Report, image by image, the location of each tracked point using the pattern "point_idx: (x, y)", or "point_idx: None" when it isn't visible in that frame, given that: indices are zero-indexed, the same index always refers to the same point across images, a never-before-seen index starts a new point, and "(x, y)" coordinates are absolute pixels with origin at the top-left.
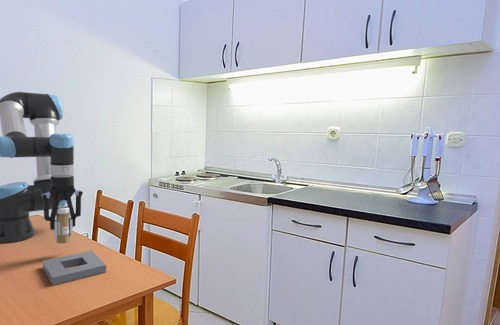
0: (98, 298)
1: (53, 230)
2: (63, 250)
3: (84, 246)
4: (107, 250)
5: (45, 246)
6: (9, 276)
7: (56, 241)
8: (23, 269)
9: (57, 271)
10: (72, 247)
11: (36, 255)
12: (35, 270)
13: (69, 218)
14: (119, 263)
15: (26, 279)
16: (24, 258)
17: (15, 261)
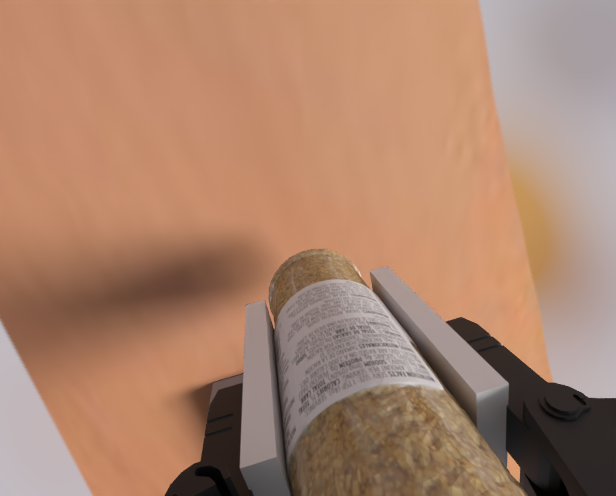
0: None
1: (245, 348)
2: (298, 163)
3: (421, 135)
4: (511, 254)
5: (164, 6)
6: (83, 435)
7: (269, 303)
8: (124, 379)
9: None
10: (352, 124)
11: (141, 197)
12: (185, 402)
13: (483, 424)
14: None
15: (168, 472)
16: (76, 226)
17: (35, 259)
